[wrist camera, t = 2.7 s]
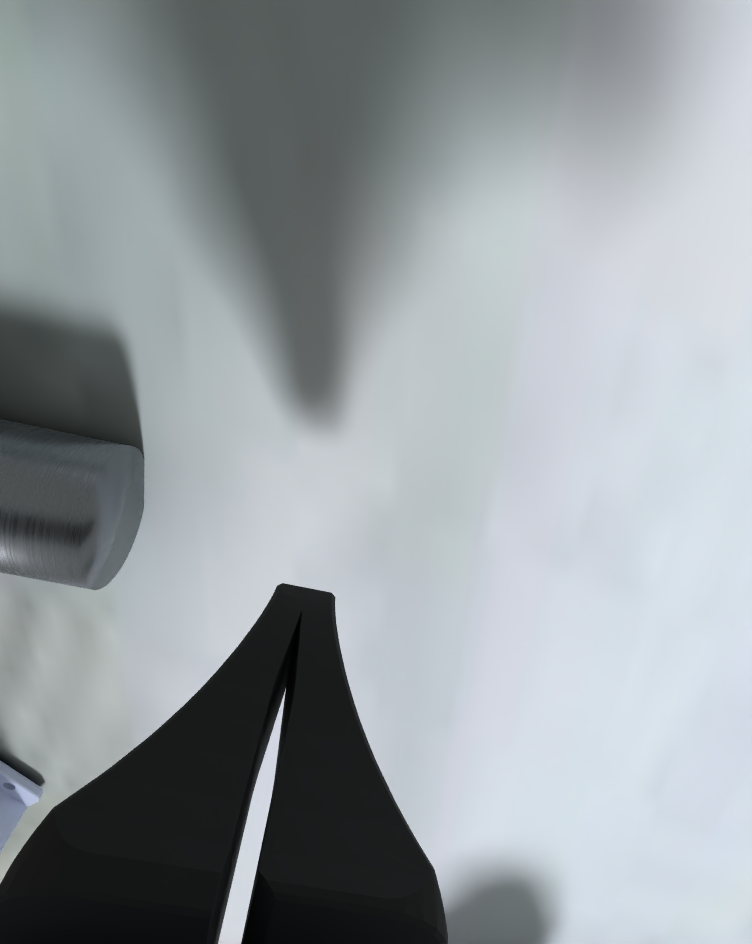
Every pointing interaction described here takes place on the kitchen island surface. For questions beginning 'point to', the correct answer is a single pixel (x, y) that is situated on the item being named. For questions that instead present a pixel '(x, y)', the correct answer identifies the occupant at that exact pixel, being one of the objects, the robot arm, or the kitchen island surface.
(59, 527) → the axle
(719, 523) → the kitchen island surface
